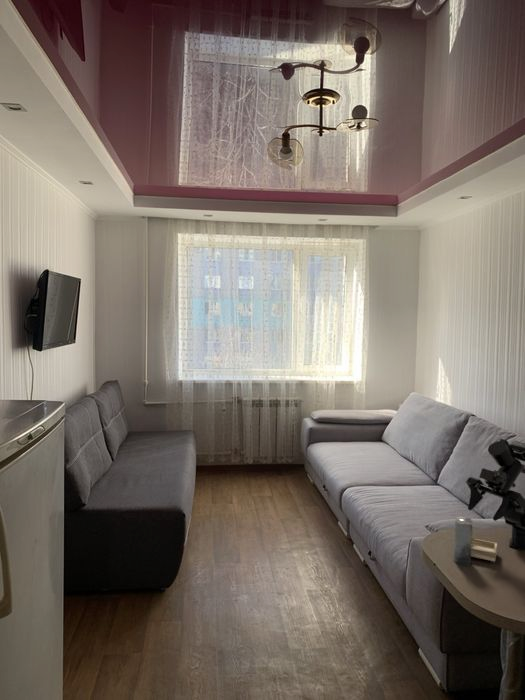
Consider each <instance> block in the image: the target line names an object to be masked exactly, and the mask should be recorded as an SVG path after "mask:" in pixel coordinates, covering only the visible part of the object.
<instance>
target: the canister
mask: <svg viewBox="0 0 525 700" xmlns="http://www.w3.org/2000/svg"><path fill="white" fill-rule="evenodd" d="M454 525H455V526H454V543H453V562H454V563H455V564H458V565H461V566H469V565H471V560H472V556H471V542H472V538H473V534H472V531H473V519H471V518H469V517H465V516H457V517H455V524H454Z"/></svg>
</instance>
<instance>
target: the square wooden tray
mask: <svg viewBox="0 0 525 700" xmlns="http://www.w3.org/2000/svg"><path fill="white" fill-rule="evenodd" d="M497 552H498V542H493V541H488V540H484V539H479V538H475V537H474V538H473V537H472V542H471V558H477V559H482V560H486V561H490V563H491V564H495V562H496V558H497V554H498V553H497Z"/></svg>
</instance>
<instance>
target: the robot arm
mask: <svg viewBox="0 0 525 700" xmlns="http://www.w3.org/2000/svg"><path fill="white" fill-rule="evenodd" d="M487 452H488V453H489V455H490V457H491V458H492V459H493V460H494V462H495V463H496V464H497V466H499V468H498V470H497V469H496V470H490V469H486V468H483V467H482V468H481V469H480V470H481V471H480V473H479V476H478V477H477V478H476V477H472V476H469V477H468V478H467V479H466V480H465V484H466V485H467V487H468V489H469V490H470V495H469V496H470V497H469V501H468V502H469V503H468V506H467V509H468V511H472V510H473V509H475V507H476V506H477V505H478V504H479V503H480V502H481V501H482V499H484V496H485V494H486V493H487V494H489V495H493V496H495V497H498V498H500V499H501V504H500V505H499V507H498V509H497V510H496V511H495V513H494V515H493V518H492V520H493V521H494V522H497V521H498V520H500V519H501V518H504V523H505V524H506V525H509V526H511V529H510V531H511V533H510V538H509V543H508V546H509V548H515V549H519V550H525V497H523V496H522V494H521V492H517V491H514V490H511V488H516V483H515V482H516V480H517V479H518V477H519V475H520V474H521V473H522V474H524V475H525V464H523V463H521V461H522V462H525V442H521V441H516V440H514V441H512V442H511V443H509V442H508V439H505V438H500V439H499V441H495V442H493V443H491V444H489V446H488V448H487ZM481 479H483V480H484V483H483V481H482V480H481ZM485 484H486V485H485ZM483 495H484V496H483Z"/></svg>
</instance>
